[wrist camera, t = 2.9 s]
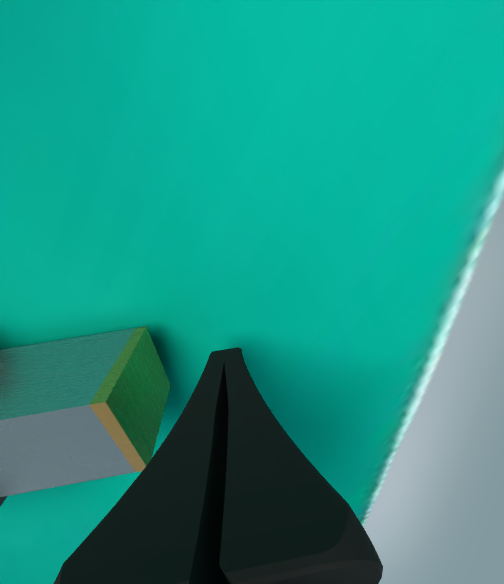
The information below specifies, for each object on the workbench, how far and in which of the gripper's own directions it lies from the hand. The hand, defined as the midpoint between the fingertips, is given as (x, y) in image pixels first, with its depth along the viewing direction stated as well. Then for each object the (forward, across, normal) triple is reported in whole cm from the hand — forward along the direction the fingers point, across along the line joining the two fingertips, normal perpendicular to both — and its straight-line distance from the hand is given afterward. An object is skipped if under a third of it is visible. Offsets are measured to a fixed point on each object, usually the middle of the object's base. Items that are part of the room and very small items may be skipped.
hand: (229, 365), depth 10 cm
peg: (+1, +10, 0) cm, 10 cm away
